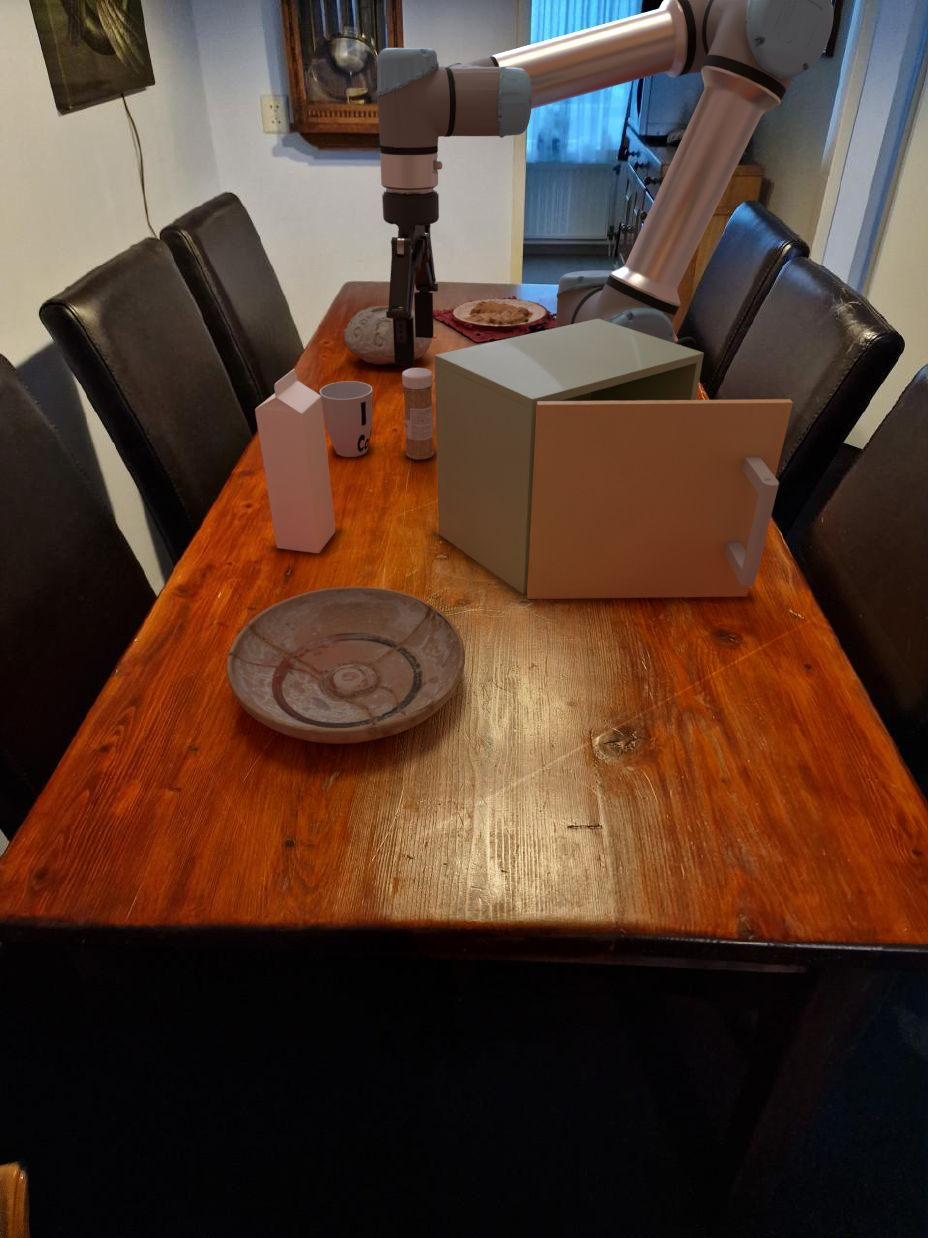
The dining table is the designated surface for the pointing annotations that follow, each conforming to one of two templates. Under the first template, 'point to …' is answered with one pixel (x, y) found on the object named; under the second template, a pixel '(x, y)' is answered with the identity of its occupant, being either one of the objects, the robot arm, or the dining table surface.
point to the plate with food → (496, 318)
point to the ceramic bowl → (346, 664)
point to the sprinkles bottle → (418, 413)
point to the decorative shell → (377, 336)
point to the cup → (348, 416)
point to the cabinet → (531, 422)
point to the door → (652, 496)
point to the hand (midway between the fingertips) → (415, 350)
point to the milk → (296, 466)
